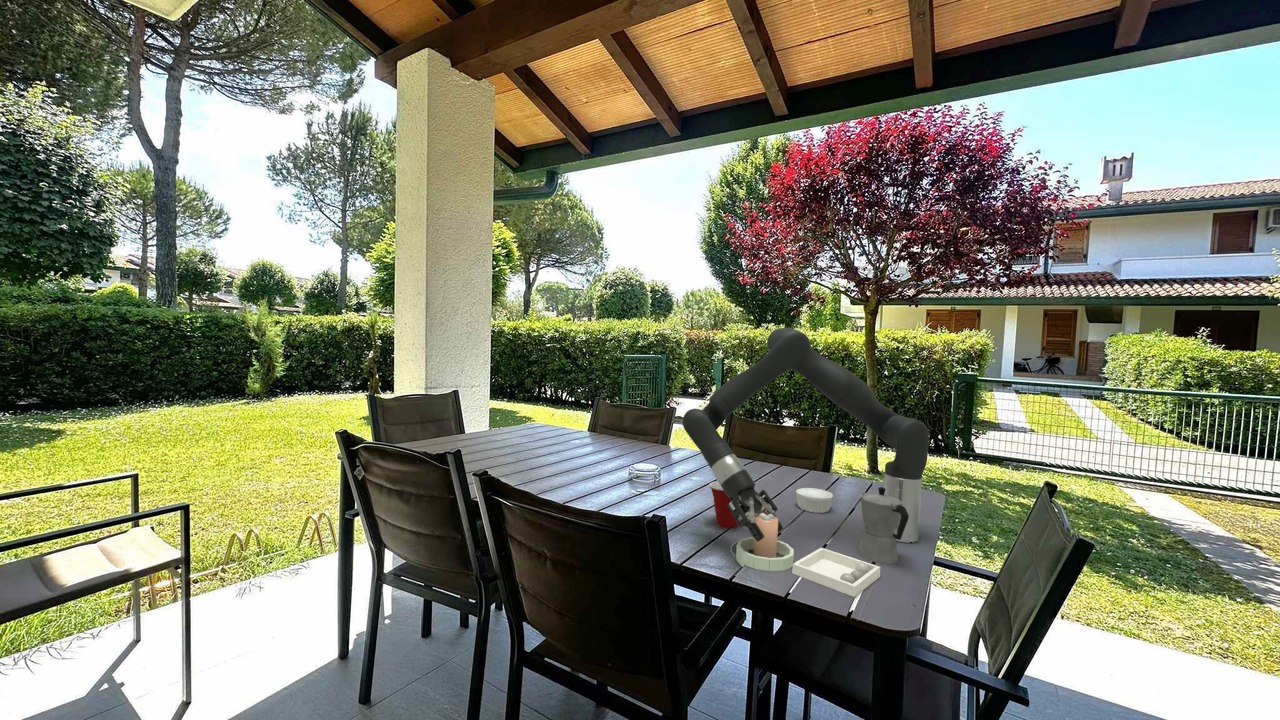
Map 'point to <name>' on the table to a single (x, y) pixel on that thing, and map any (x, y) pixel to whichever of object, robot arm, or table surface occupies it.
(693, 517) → the table surface
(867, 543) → the coffeepot
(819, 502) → the ramekin
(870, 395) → the robot arm
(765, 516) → the pebble pot
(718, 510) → the plastic cup
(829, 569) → the parts tray
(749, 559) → the sage bowl
